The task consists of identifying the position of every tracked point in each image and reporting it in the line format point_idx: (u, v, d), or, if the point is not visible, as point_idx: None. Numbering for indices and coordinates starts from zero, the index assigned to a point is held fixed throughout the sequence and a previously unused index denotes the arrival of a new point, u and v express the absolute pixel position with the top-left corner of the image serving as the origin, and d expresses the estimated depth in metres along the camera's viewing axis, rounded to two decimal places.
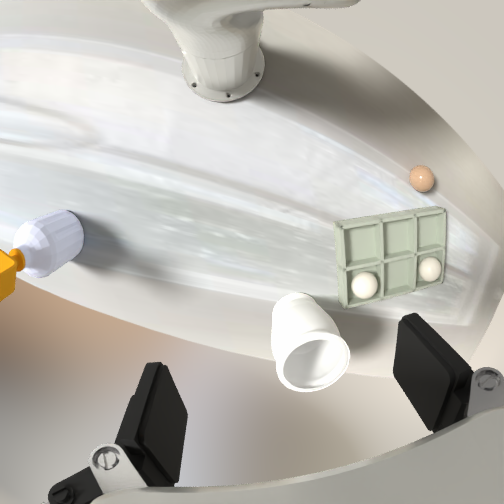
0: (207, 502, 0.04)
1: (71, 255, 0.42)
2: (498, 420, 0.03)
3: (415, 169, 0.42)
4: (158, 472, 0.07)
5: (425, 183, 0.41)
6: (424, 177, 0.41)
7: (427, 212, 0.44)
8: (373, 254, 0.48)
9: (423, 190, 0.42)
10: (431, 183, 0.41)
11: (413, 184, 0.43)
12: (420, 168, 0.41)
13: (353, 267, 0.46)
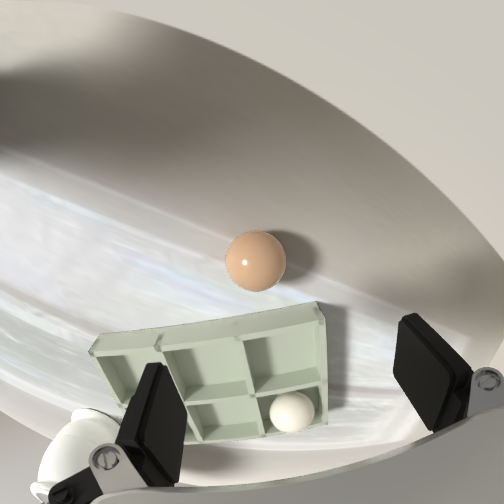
0: (207, 502, 0.04)
1: None
2: (498, 420, 0.03)
3: (231, 245, 0.22)
4: (158, 472, 0.07)
5: (249, 281, 0.21)
6: (245, 268, 0.20)
7: (271, 330, 0.23)
8: None
9: (253, 291, 0.22)
10: (268, 278, 0.21)
11: None
12: (239, 245, 0.21)
13: None
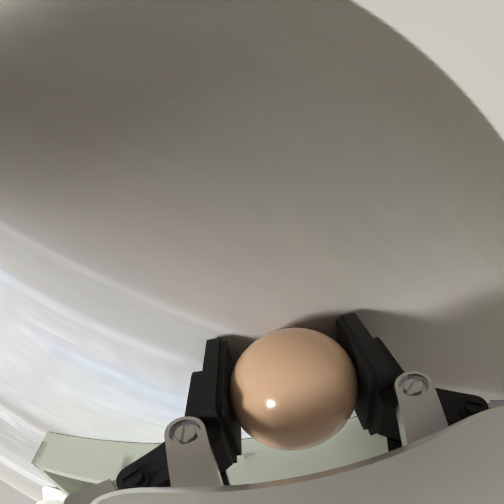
0: (207, 502, 0.04)
1: None
2: (498, 420, 0.03)
3: (242, 371, 0.09)
4: (228, 443, 0.08)
5: (283, 447, 0.08)
6: (277, 433, 0.07)
7: None
8: None
9: None
10: (323, 440, 0.08)
11: None
12: (262, 379, 0.08)
13: None
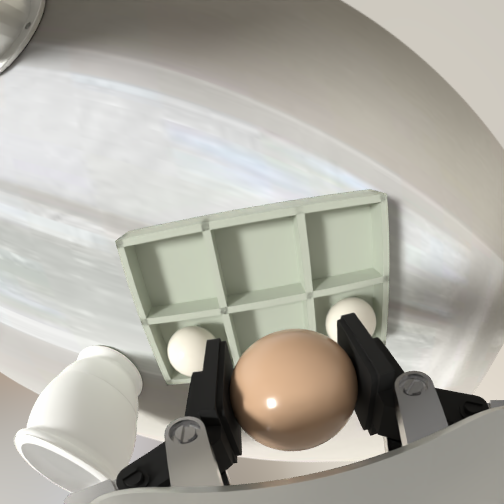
0: (207, 502, 0.04)
1: None
2: (498, 420, 0.03)
3: (242, 372, 0.09)
4: (228, 443, 0.08)
5: (283, 448, 0.08)
6: (277, 433, 0.07)
7: (335, 202, 0.21)
8: (216, 292, 0.25)
9: None
10: (323, 440, 0.08)
11: None
12: (262, 380, 0.08)
13: (161, 319, 0.23)
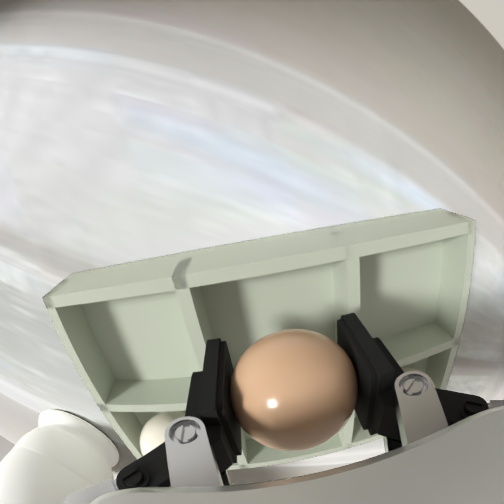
0: (207, 502, 0.04)
1: None
2: (498, 420, 0.03)
3: (242, 372, 0.09)
4: (228, 443, 0.08)
5: (283, 448, 0.08)
6: (277, 433, 0.07)
7: (408, 236, 0.11)
8: None
9: None
10: (323, 441, 0.08)
11: None
12: (262, 380, 0.08)
13: (125, 407, 0.14)
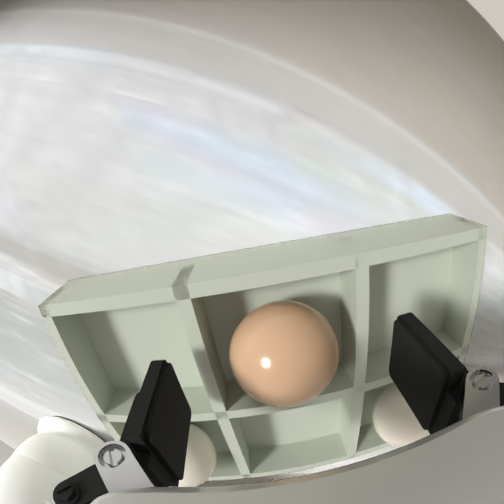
0: (207, 502, 0.04)
1: None
2: (498, 420, 0.03)
3: (240, 334, 0.11)
4: (164, 469, 0.07)
5: (275, 401, 0.10)
6: (269, 385, 0.10)
7: (419, 244, 0.11)
8: None
9: None
10: (309, 396, 0.10)
11: None
12: (256, 338, 0.10)
13: (125, 418, 0.13)
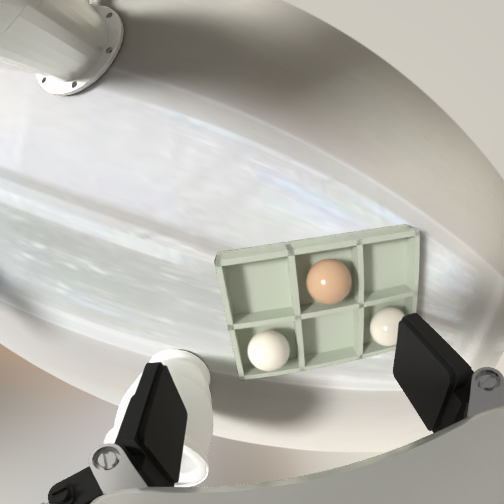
0: (207, 502, 0.04)
1: None
2: (498, 420, 0.03)
3: (313, 270, 0.28)
4: (158, 472, 0.07)
5: (328, 297, 0.27)
6: (326, 288, 0.27)
7: (384, 236, 0.28)
8: (288, 303, 0.32)
9: (327, 304, 0.28)
10: (341, 295, 0.27)
11: (309, 293, 0.29)
12: (321, 270, 0.27)
13: (246, 324, 0.30)
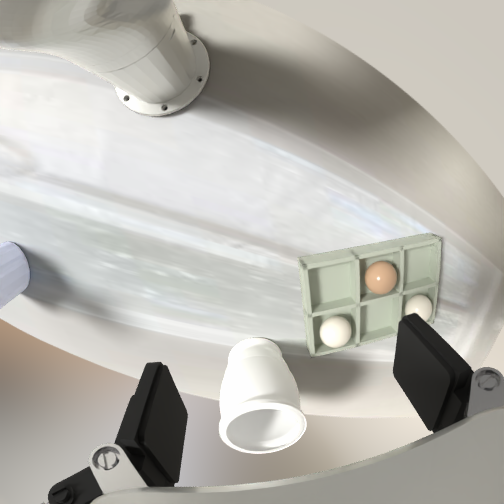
0: (207, 502, 0.04)
1: (16, 291, 0.34)
2: (498, 420, 0.03)
3: (371, 269, 0.36)
4: (158, 472, 0.07)
5: (382, 289, 0.35)
6: (382, 282, 0.35)
7: (417, 243, 0.36)
8: (348, 294, 0.40)
9: (380, 294, 0.37)
10: (391, 287, 0.35)
11: (367, 286, 0.37)
12: (378, 269, 0.36)
13: (321, 312, 0.38)
